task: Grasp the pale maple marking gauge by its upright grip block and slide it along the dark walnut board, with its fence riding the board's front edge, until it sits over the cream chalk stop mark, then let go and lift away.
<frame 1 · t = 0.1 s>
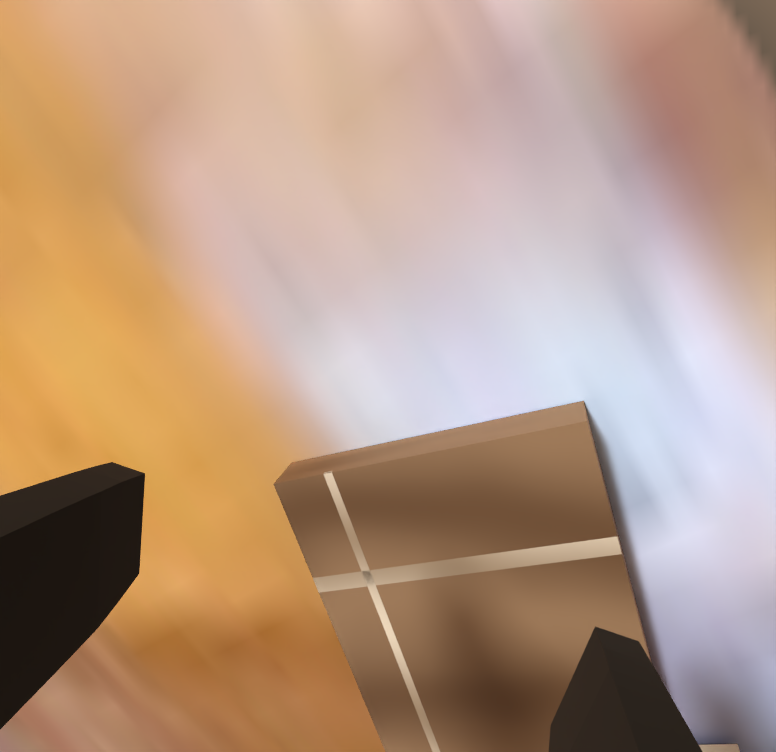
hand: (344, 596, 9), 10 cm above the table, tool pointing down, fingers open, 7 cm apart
walnut board: (507, 679, 21), on the table
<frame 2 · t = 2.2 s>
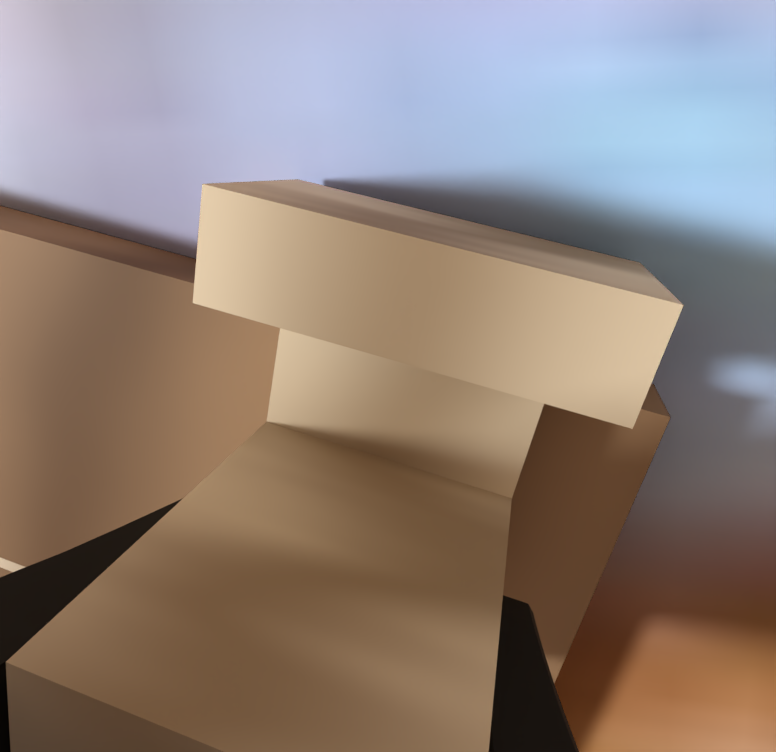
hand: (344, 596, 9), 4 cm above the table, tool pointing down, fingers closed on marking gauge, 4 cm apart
walnut board: (140, 457, 14), on the table
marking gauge: (364, 583, 12), point 2 cm above the table, touching gripper, walnut board
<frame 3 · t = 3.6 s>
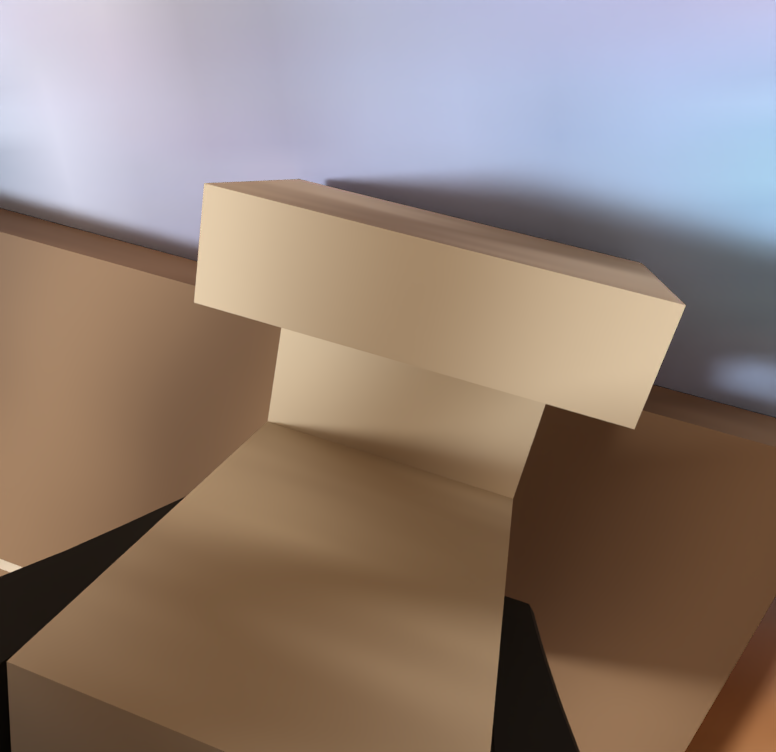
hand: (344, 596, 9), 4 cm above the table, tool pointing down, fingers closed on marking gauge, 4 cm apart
walnut board: (241, 492, 13), on the table
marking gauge: (364, 583, 12), point 2 cm above the table, touching gripper
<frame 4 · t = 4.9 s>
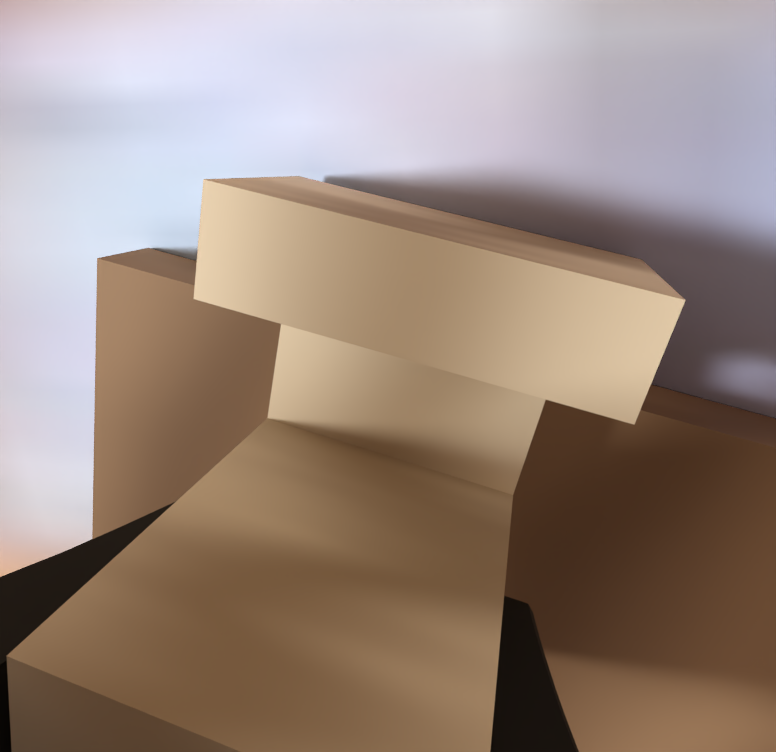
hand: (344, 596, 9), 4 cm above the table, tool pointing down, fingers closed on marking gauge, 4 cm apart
walnut board: (560, 598, 12), on the table
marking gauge: (364, 580, 11), point 2 cm above the table, touching gripper
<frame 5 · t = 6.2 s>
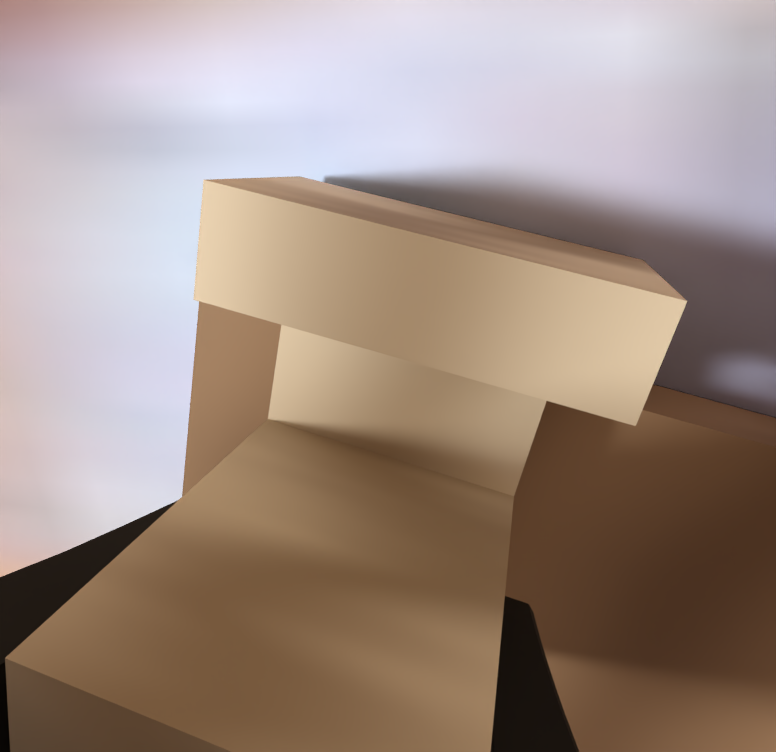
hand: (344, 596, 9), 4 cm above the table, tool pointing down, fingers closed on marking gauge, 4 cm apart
walnut board: (661, 632, 12), on the table
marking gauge: (365, 581, 11), point 2 cm above the table, touching gripper, walnut board
when the fingers open (4 cm above the table, at t = 6.8 s): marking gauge stays where it is, resting on walnut board.
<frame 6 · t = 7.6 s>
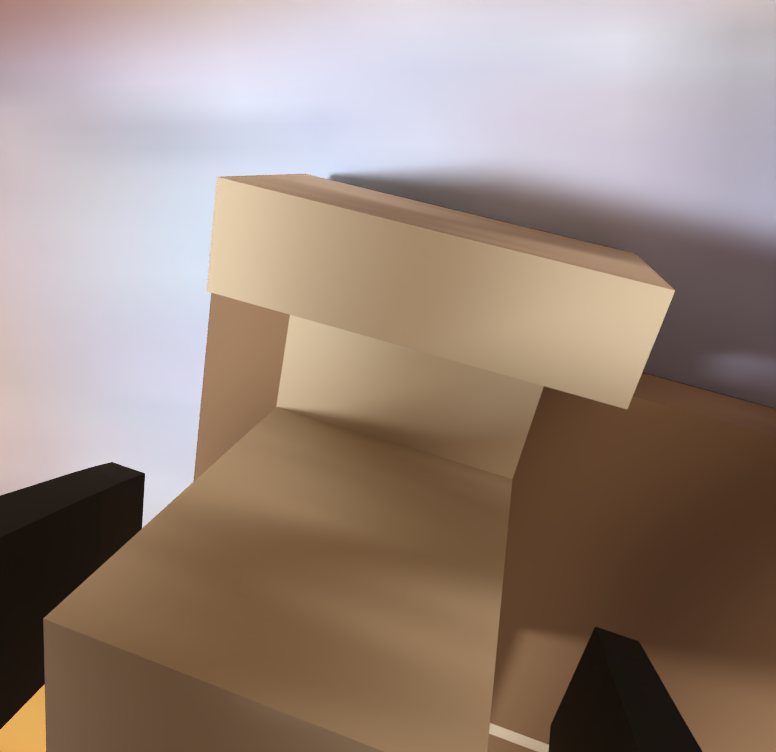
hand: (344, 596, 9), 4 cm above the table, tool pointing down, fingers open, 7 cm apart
walnut board: (657, 615, 12), on the table
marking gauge: (369, 565, 12), point 2 cm above the table, touching walnut board
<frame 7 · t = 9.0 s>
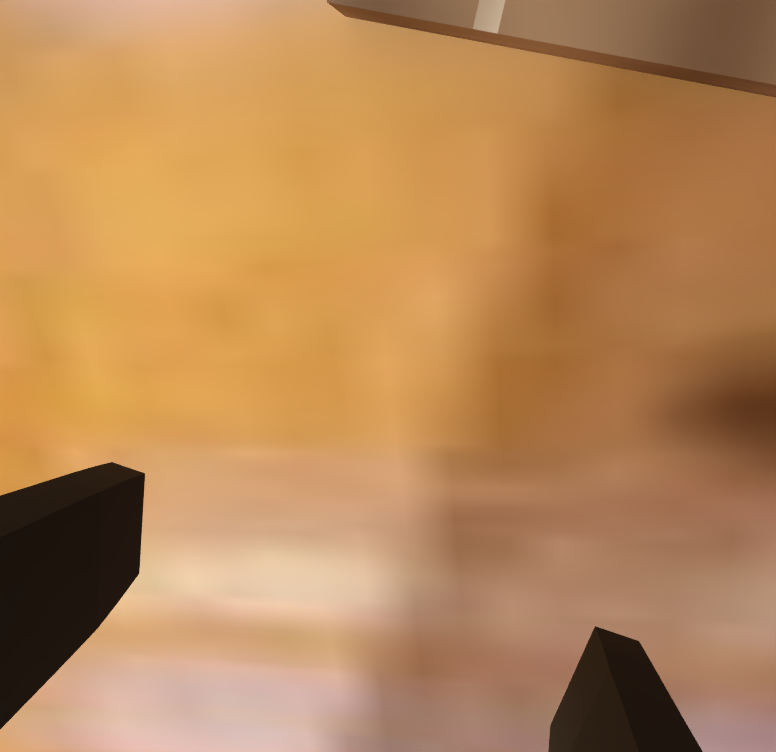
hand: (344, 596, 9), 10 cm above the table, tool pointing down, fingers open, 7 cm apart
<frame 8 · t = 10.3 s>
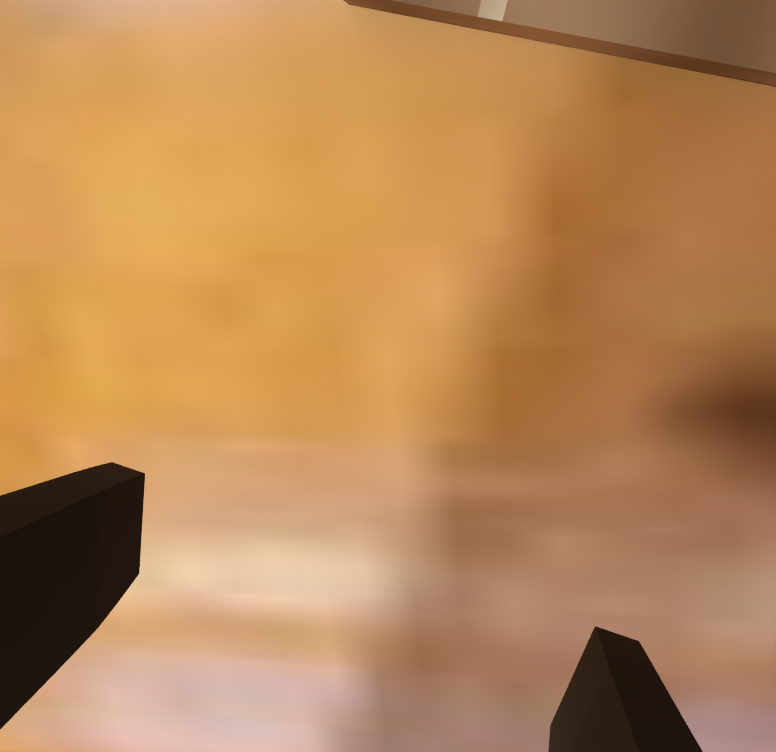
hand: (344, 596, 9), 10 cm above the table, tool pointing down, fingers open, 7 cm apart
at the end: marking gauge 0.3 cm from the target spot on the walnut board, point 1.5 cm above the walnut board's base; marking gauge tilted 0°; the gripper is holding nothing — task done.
